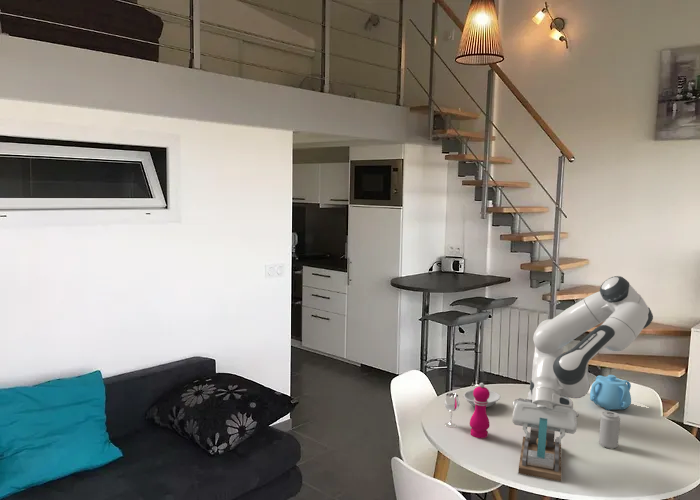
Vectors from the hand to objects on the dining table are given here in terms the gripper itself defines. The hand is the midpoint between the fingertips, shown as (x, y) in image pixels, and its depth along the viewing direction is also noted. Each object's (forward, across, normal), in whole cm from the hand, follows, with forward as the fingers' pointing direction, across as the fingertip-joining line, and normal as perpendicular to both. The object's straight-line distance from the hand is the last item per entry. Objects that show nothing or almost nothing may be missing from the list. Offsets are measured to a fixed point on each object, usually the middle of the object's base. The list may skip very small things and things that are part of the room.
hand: (542, 441), depth 190 cm
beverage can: (-14, +23, +29) cm, 39 cm away
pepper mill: (-7, -22, +22) cm, 32 cm away
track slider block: (+5, 0, +6) cm, 8 cm away
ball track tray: (+1, 0, +13) cm, 13 cm away
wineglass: (-11, -34, +26) cm, 44 cm away
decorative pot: (-46, +27, +60) cm, 80 cm away
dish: (-28, -25, +43) cm, 57 cm away
